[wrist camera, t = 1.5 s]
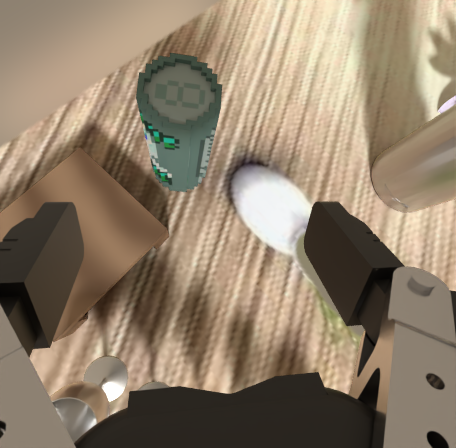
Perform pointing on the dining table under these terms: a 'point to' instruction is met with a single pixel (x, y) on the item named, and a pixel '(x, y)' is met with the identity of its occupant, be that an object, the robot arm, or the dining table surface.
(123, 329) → the dining table surface
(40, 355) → the dining table surface
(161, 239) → the walnut shelf
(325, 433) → the robot arm
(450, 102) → the water lily
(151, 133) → the can
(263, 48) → the dining table surface
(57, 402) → the goblet set
